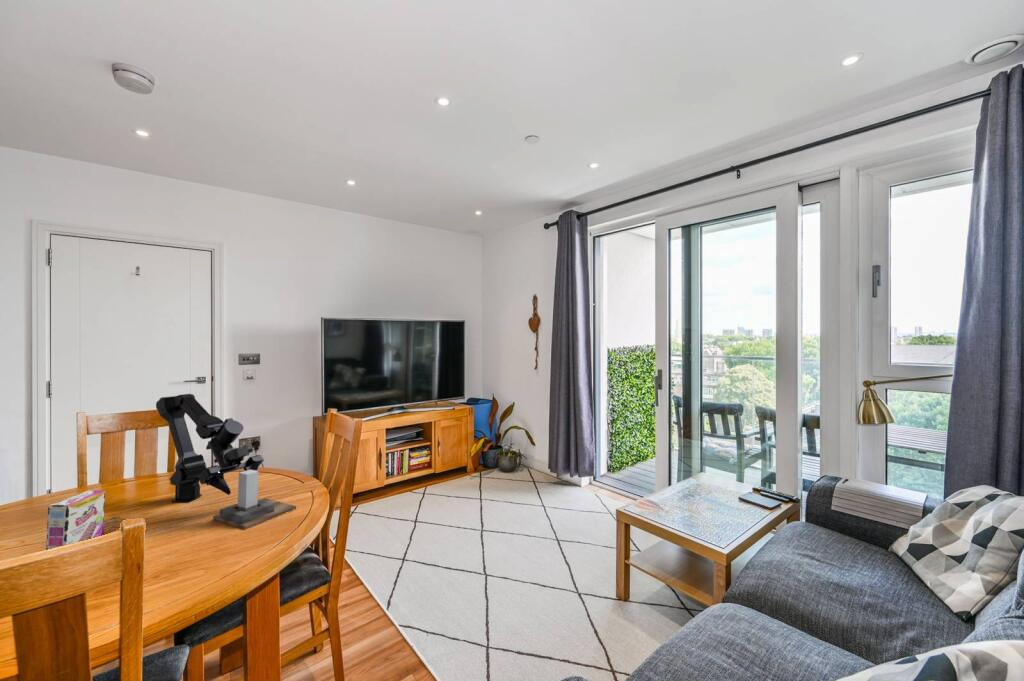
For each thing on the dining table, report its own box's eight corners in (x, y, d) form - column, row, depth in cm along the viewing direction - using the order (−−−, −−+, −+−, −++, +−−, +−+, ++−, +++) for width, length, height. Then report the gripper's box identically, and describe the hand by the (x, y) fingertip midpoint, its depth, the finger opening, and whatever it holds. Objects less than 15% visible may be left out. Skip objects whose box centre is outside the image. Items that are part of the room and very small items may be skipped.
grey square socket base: (213, 519, 138) (213, 508, 138) (264, 500, 155) (265, 491, 155) (245, 529, 132) (245, 518, 132) (296, 509, 148) (296, 499, 148)
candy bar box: (65, 571, 107) (67, 505, 106) (44, 571, 106) (45, 505, 106) (104, 548, 118) (106, 489, 118) (85, 549, 117) (86, 489, 117)
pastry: (125, 537, 125) (125, 524, 125) (93, 543, 121) (93, 530, 121) (128, 525, 132) (128, 513, 132) (98, 531, 128) (98, 518, 128)
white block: (237, 515, 139) (238, 472, 139) (249, 510, 143) (250, 469, 143) (245, 517, 138) (246, 474, 138) (257, 513, 141) (258, 471, 141)
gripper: (205, 443, 135) (226, 484, 130) (261, 432, 152) (281, 467, 147) (189, 464, 138) (209, 504, 134) (245, 450, 155) (265, 486, 151)
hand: (243, 489), depth 141 cm, fingers open, 9 cm apart
